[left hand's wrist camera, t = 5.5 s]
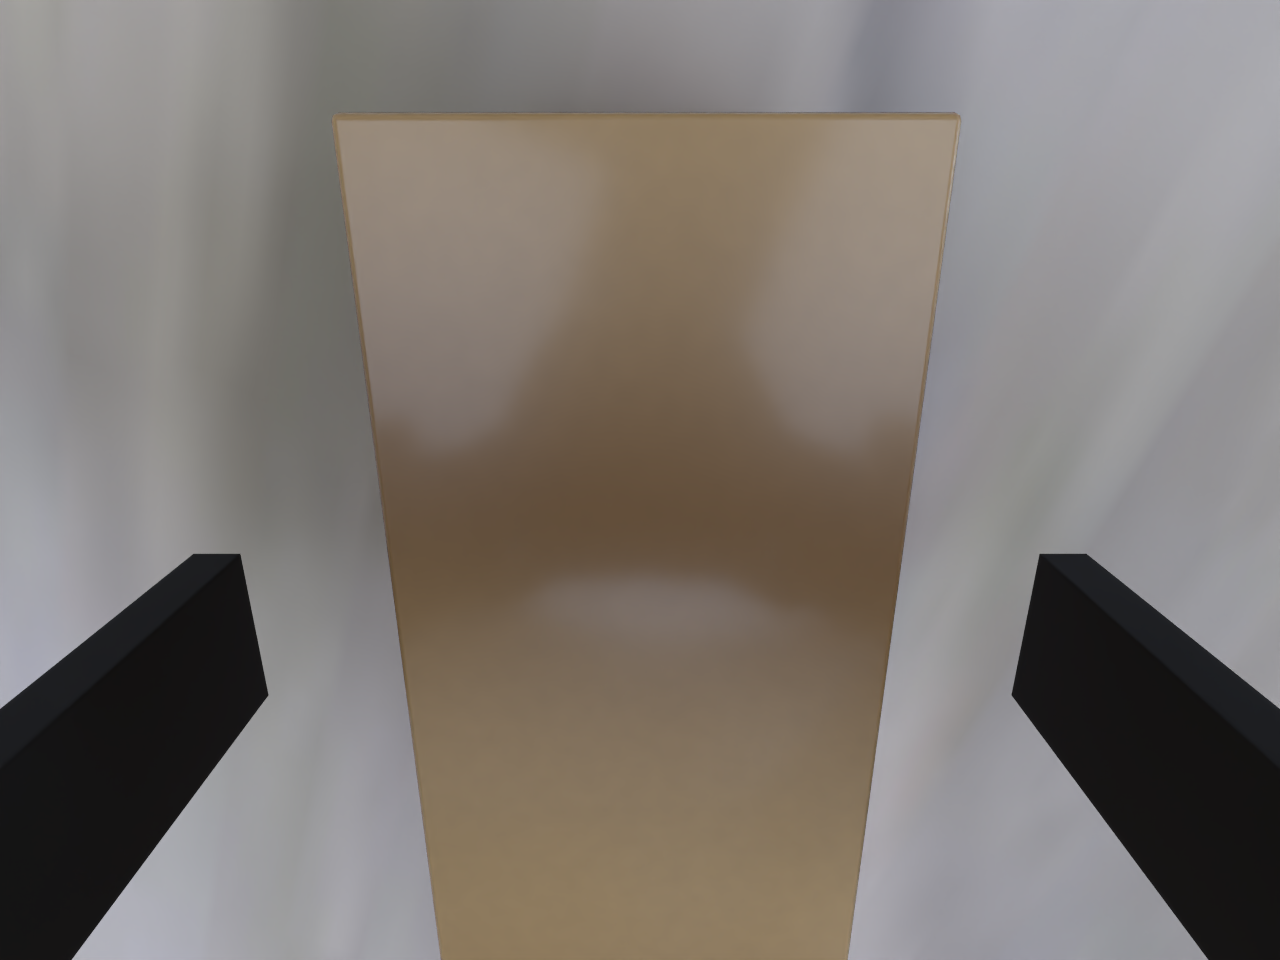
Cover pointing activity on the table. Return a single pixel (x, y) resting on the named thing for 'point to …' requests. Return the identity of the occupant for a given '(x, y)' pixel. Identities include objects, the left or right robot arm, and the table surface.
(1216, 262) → the table surface
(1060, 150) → the table surface
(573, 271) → the bar
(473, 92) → the table surface
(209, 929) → the table surface
